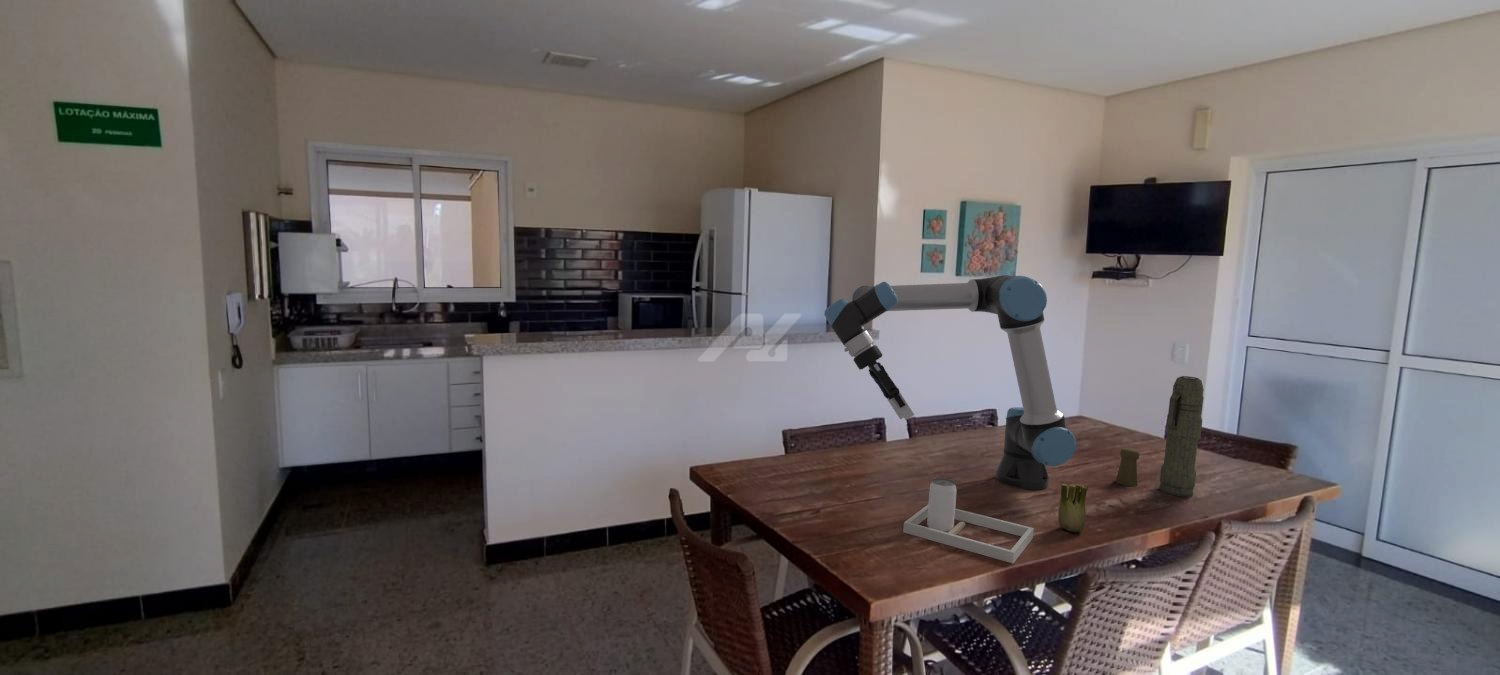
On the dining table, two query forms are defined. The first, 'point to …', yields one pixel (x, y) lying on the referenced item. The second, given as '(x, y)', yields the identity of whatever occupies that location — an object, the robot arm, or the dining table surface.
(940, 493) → the can
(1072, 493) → the fennel bulb
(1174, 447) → the thermos
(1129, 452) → the olive tapered pillar
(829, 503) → the dining table surface
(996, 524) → the frame
